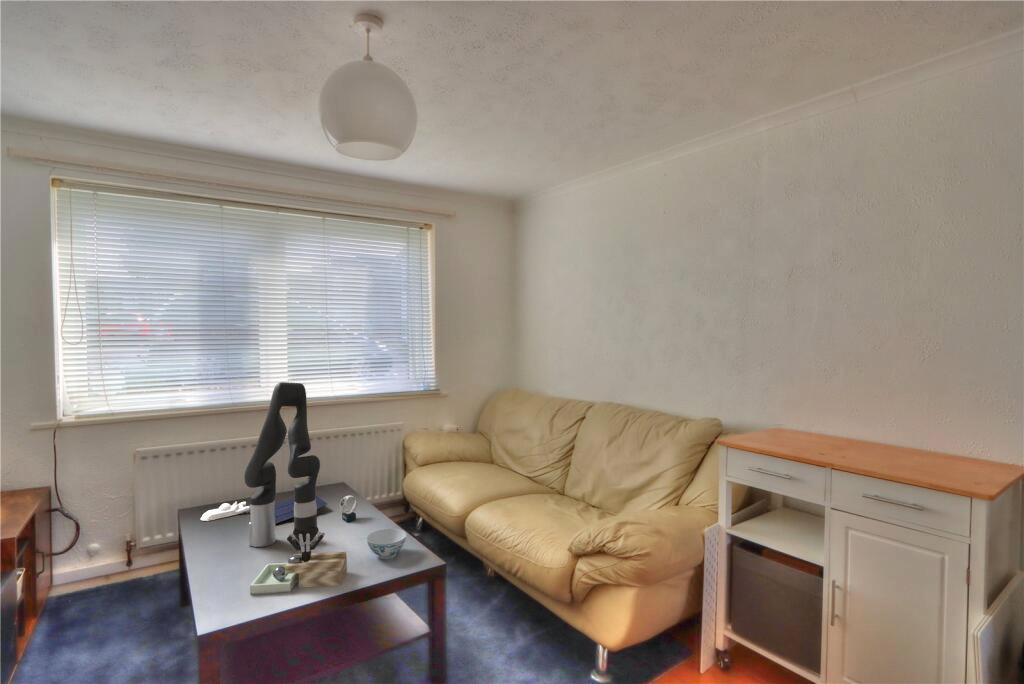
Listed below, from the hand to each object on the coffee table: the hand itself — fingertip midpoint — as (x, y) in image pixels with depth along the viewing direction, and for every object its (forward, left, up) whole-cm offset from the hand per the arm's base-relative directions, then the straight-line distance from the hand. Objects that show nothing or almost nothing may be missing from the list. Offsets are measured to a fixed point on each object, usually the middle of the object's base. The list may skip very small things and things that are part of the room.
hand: (306, 561), depth 186 cm
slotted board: (+3, 0, -7) cm, 8 cm away
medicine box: (-10, +35, -7) cm, 37 cm away
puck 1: (-8, 0, -3) cm, 9 cm away
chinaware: (+26, +17, -7) cm, 31 cm away
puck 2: (-4, 0, -1) cm, 4 cm away
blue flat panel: (-28, +69, -7) cm, 75 cm away
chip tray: (-10, 0, -7) cm, 12 cm away
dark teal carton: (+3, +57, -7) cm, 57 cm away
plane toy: (-58, +70, -7) cm, 91 cm away
